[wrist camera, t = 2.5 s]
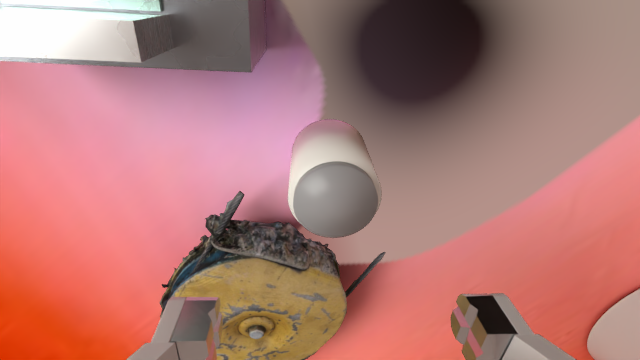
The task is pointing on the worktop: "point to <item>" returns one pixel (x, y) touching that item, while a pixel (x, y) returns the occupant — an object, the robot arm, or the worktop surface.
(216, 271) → the pulley block
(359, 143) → the white domed cylinder
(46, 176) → the worktop surface
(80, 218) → the worktop surface
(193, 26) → the motor
